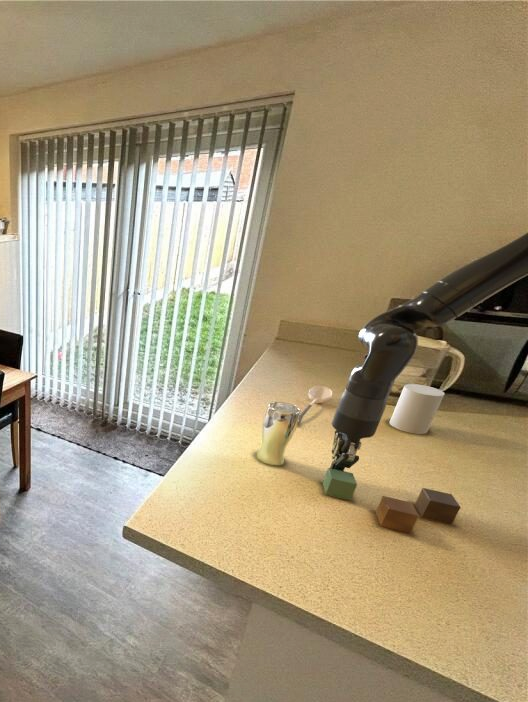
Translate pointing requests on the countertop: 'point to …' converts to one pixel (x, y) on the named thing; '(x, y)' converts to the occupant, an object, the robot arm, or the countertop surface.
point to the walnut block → (437, 506)
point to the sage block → (339, 484)
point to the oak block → (396, 514)
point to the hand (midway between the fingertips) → (334, 475)
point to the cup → (416, 408)
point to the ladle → (316, 398)
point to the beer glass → (277, 431)
